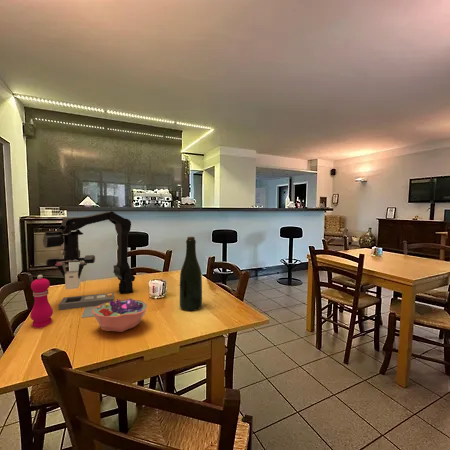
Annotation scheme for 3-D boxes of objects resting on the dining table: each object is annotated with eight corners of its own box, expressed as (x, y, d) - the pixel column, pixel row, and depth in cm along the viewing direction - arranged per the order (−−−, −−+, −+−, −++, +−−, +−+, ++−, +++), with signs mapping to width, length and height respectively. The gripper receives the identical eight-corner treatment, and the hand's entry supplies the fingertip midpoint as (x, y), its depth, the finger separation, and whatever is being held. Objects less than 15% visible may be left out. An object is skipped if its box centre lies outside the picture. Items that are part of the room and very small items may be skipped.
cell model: (103, 318, 108) (102, 292, 107) (152, 317, 110) (151, 291, 109) (84, 340, 92) (83, 309, 91) (142, 338, 93) (141, 307, 92)
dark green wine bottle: (174, 307, 121) (174, 236, 118) (192, 301, 129) (192, 234, 126) (189, 313, 114) (189, 239, 111) (206, 307, 122) (207, 236, 119)
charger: (79, 284, 124) (79, 270, 123) (78, 288, 119) (77, 273, 118) (67, 286, 122) (67, 271, 121) (65, 289, 117) (64, 274, 116)
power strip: (114, 299, 131) (113, 290, 131) (113, 305, 123) (113, 297, 123) (63, 304, 124) (63, 295, 123) (59, 312, 115) (58, 302, 115)
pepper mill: (57, 322, 105) (55, 273, 103) (39, 330, 98) (37, 278, 96) (44, 319, 107) (42, 271, 105) (26, 327, 100) (23, 276, 99)
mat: (111, 305, 122) (111, 304, 122) (110, 315, 112) (110, 313, 112) (85, 308, 118) (85, 307, 118) (81, 319, 108) (81, 317, 108)
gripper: (95, 241, 130) (96, 272, 131) (52, 243, 123) (53, 275, 124) (93, 245, 119) (94, 278, 120) (45, 247, 113) (46, 282, 114)
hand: (72, 278), depth 120 cm, fingers closed on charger, 5 cm apart
